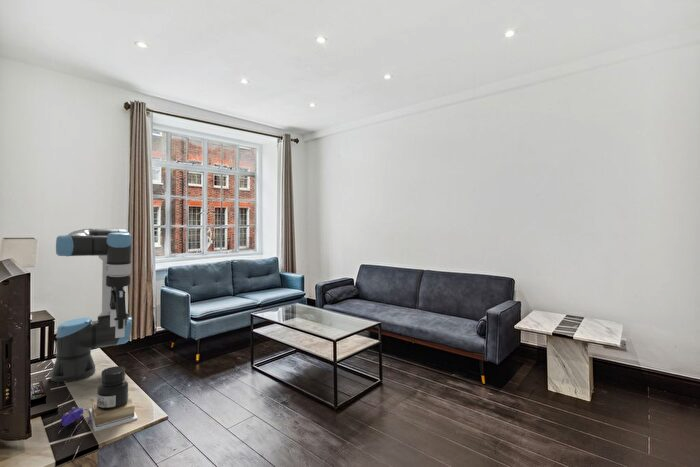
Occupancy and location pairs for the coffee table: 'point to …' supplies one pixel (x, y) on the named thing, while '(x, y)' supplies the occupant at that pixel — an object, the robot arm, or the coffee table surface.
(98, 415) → the oak plinth
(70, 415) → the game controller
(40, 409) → the coffee table surface
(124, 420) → the grey thin flat slab
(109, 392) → the ink bottle
